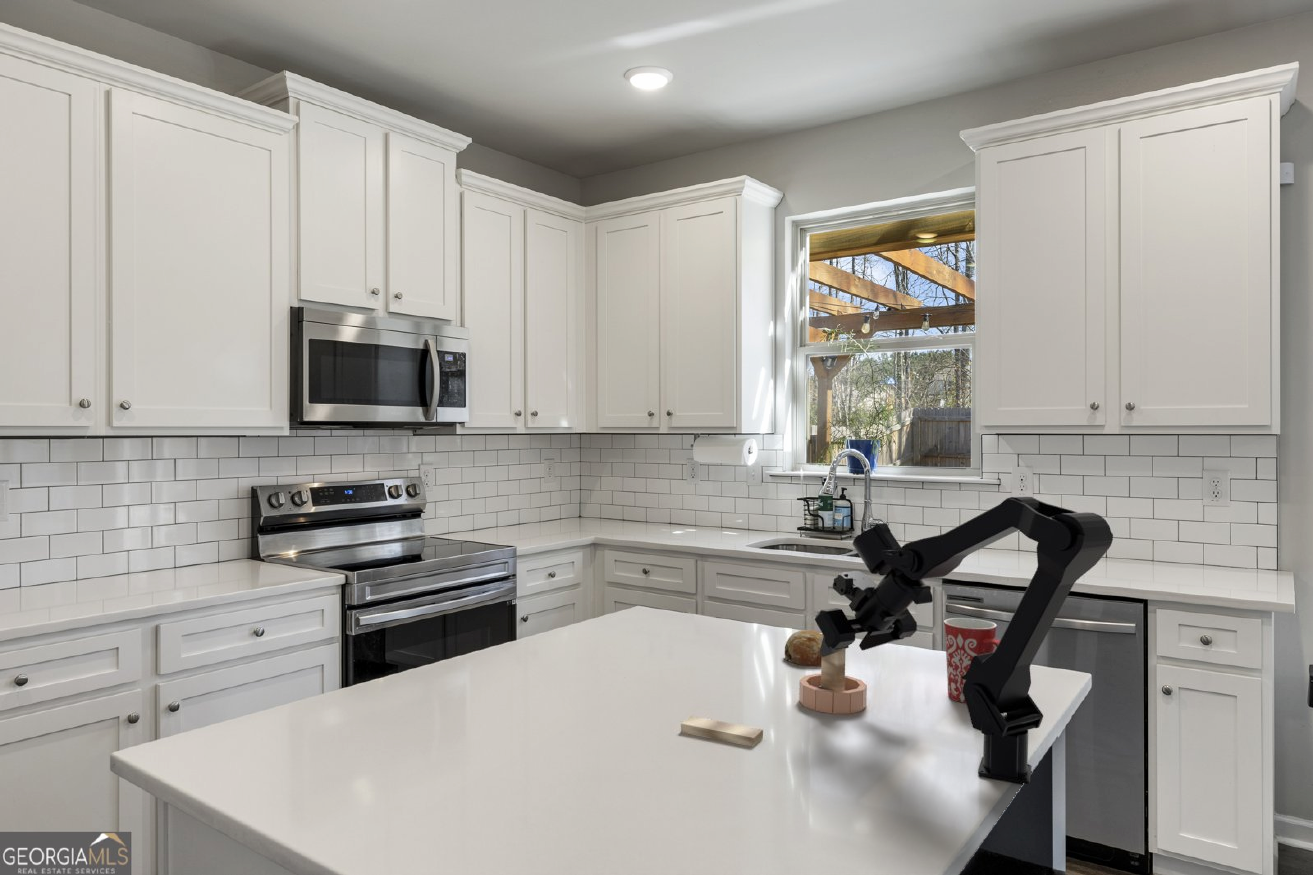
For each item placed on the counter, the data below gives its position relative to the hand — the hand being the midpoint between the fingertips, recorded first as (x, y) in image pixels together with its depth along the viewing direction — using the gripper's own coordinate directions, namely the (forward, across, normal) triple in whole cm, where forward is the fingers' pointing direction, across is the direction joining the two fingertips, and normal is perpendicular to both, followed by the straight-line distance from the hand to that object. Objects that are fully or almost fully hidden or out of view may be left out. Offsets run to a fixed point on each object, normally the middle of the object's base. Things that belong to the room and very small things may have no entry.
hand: (841, 651), depth 144 cm
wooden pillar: (+8, 0, +5) cm, 9 cm away
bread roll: (+25, -16, -11) cm, 31 cm away
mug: (0, -24, +13) cm, 27 cm away
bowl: (+8, 0, +5) cm, 10 cm away
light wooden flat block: (+6, +26, +8) cm, 28 cm away
